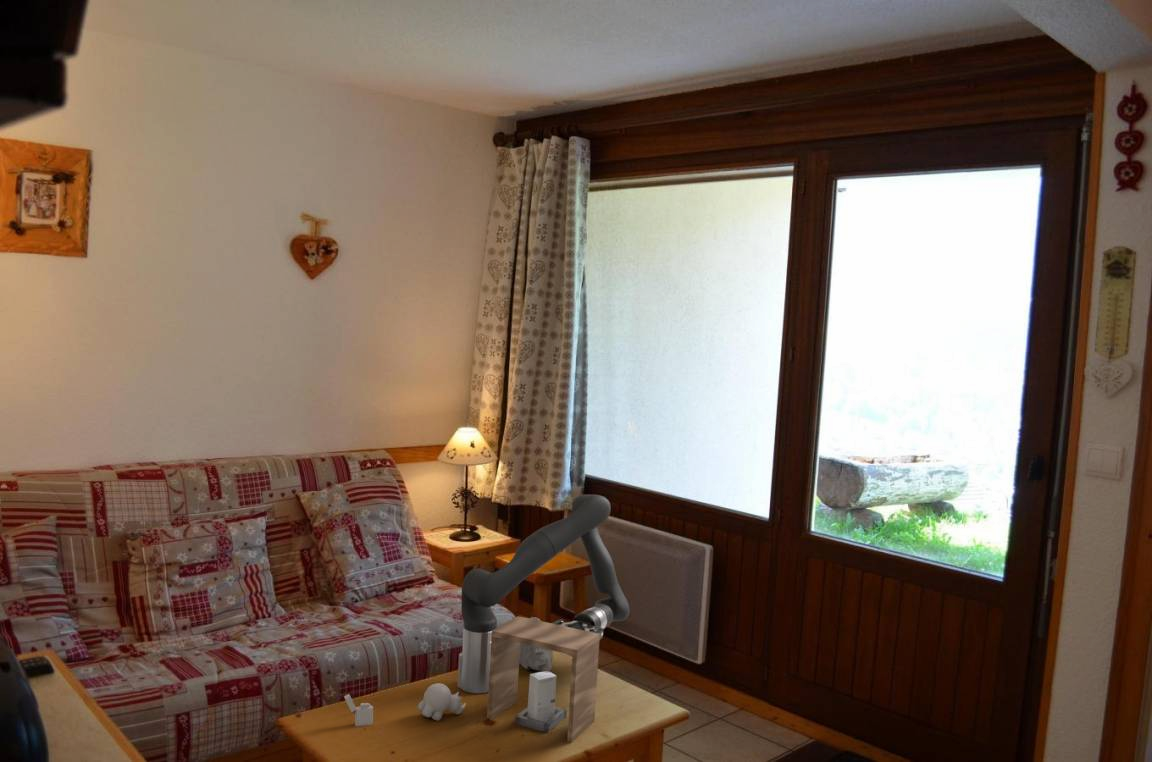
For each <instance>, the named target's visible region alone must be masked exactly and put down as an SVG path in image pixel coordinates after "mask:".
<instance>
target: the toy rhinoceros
mask: <svg viewBox="0 0 1152 762" xmlns="http://www.w3.org/2000/svg"><path fill="white" fill-rule="evenodd" d="M462 698H463V696H459V691H457V692H456V693H454V694H452V692H451V690H450V688H449V687H448V686H447V685H445V684H444V683H439V682H437V683H433V684H431V685H429V686H428V687H427V689H425V691H424V694H423V699H422V700H421V701H420V702H419V703H418V706H417V709H418V711H419V712H421V715H422V716H423V717H425V718H431V719H433V720H434V721H441V719H442V717H443V712H444V711H446V710H448V711H450V712H452V713H453V714H454V715H460V714H462V713H463V710H464V709H465V707H466V705H467V704H466V702H464V703H462Z"/></svg>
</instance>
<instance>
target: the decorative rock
mask: <svg viewBox="0 0 1152 762" xmlns="http://www.w3.org/2000/svg"><path fill="white" fill-rule="evenodd" d="M528 618H529V619H533V620H538V621H541V619H540V618H538V617H534V616H531V617H528ZM553 652H554V651H553V650H548V649H544V648H539V647H535V646H531V645H526V644H522V643H520V656H519V665H521V666H522V667H523V668H524V669H525V670H527V671H529V670H532V669H533V670H536V671H542V672H545V671H549V672H551V670H552V666H553V657H554V655H553Z"/></svg>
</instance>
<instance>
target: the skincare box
mask: <svg viewBox="0 0 1152 762" xmlns="http://www.w3.org/2000/svg"><path fill="white" fill-rule="evenodd" d="M528 683H529V684H528V697H527V698H528V699H527V707H528V712H527V717H528V718H532V719H535V720H539V721H543V722H547V721H548V720H549V719H551V718H552V717H553V716H554V711H555V707H556V691H557V675H556V674H555V673H552V672H551V671H538V672H534V673H530V674H529V681H528Z"/></svg>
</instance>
